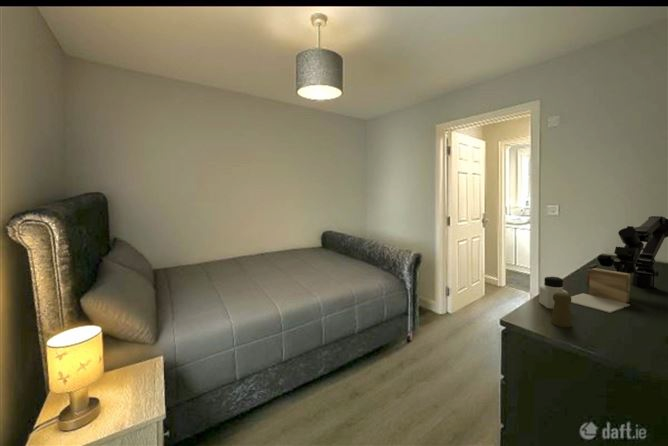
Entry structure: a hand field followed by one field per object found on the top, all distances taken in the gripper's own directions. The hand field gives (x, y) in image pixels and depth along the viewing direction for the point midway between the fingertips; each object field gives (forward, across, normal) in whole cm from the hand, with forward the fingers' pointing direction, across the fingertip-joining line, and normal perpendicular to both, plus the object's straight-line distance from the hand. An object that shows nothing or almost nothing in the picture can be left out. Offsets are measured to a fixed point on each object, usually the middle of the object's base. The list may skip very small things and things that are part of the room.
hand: (618, 278), depth 128 cm
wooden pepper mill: (+43, +5, -32) cm, 54 cm away
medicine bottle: (+32, -6, -21) cm, 39 cm away
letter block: (+12, 0, -1) cm, 12 cm away
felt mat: (+19, 0, -8) cm, 21 cm away
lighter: (-2, -13, +13) cm, 19 cm away
